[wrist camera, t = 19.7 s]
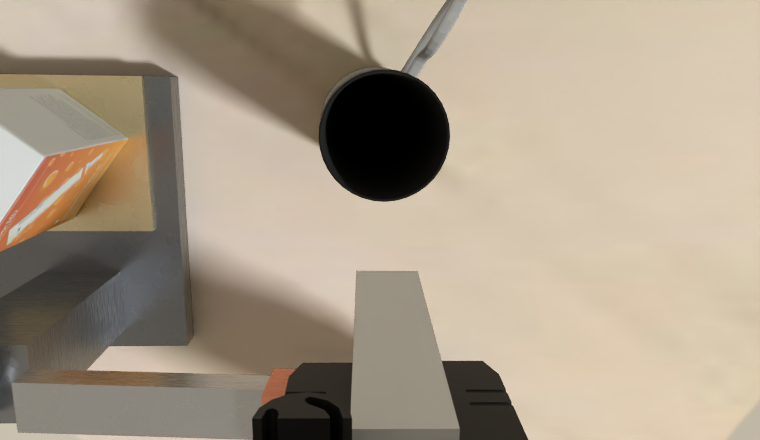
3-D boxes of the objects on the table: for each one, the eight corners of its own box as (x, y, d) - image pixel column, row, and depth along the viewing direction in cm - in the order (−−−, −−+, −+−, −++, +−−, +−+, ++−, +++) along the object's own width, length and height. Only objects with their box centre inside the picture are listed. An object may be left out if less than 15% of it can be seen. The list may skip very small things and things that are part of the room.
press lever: (-48, 356, 34) (-97, 385, 30) (328, 366, 33) (320, 397, 30) (-38, 419, 34) (-84, 454, 31) (328, 430, 34) (321, 467, 30)
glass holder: (301, 142, 48) (279, 165, 33) (388, -17, 46) (406, -67, 31) (393, 194, 49) (411, 238, 35) (482, 42, 47) (542, 21, 32)
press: (-31, 74, 46) (-230, 66, 30) (177, 77, 46) (89, 71, 31) (5, 336, 50) (-151, 448, 35) (193, 335, 51) (123, 443, 36)
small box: (76, 219, 46) (-30, 269, 33) (3, 170, 45) (-134, 202, 32) (132, 137, 45) (46, 156, 32) (60, 85, 44) (-60, 83, 31)
